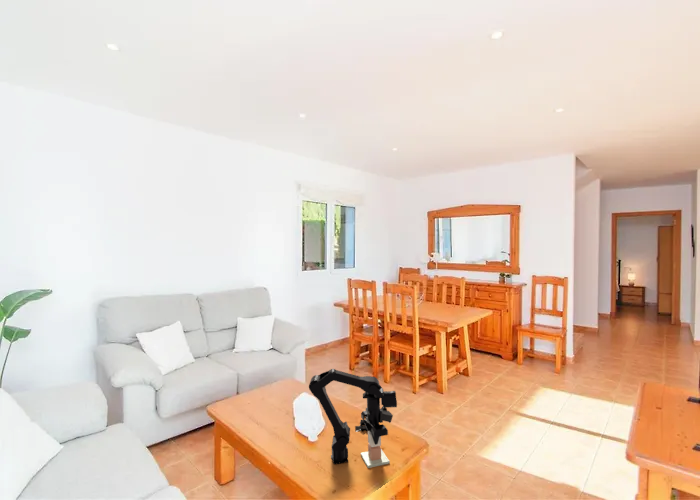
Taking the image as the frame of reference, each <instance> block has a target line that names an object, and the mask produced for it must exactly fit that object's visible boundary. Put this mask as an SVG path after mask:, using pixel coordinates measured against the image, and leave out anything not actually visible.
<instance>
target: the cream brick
mask: <svg viewBox="0 0 700 500" xmlns="http://www.w3.org/2000/svg"><path fill="white" fill-rule="evenodd" d="M367 443H368V444H370V446H371V447H376V446H380V447H381V446H382V436H380V437H379V441H378V444H376V445H375V443H374V441H373V438H372V435H371V433H370V431H367Z"/></svg>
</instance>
